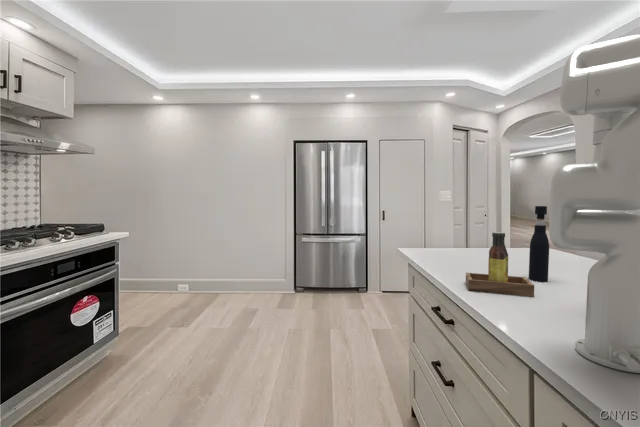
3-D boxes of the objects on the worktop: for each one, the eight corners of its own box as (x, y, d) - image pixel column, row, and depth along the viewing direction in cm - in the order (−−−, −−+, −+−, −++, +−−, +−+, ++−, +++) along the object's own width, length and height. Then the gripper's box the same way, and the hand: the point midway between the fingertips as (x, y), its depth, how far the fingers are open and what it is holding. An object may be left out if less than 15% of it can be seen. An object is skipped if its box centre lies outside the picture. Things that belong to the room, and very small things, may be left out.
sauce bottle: (510, 290, 110) (512, 234, 108) (491, 288, 111) (493, 233, 110) (503, 284, 116) (505, 231, 115) (485, 283, 117) (487, 231, 116)
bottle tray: (533, 297, 105) (534, 285, 105) (468, 290, 112) (468, 279, 112) (524, 287, 116) (525, 277, 115) (465, 282, 123) (465, 272, 122)
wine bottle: (531, 281, 124) (534, 206, 122) (526, 277, 130) (529, 205, 129) (550, 282, 122) (553, 206, 121) (544, 278, 128) (547, 206, 127)
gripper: (647, 131, 78) (643, 199, 79) (610, 142, 94) (607, 198, 95) (609, 133, 81) (606, 199, 82) (580, 143, 97) (577, 198, 98)
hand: (607, 198), depth 89 cm, fingers open, 9 cm apart
